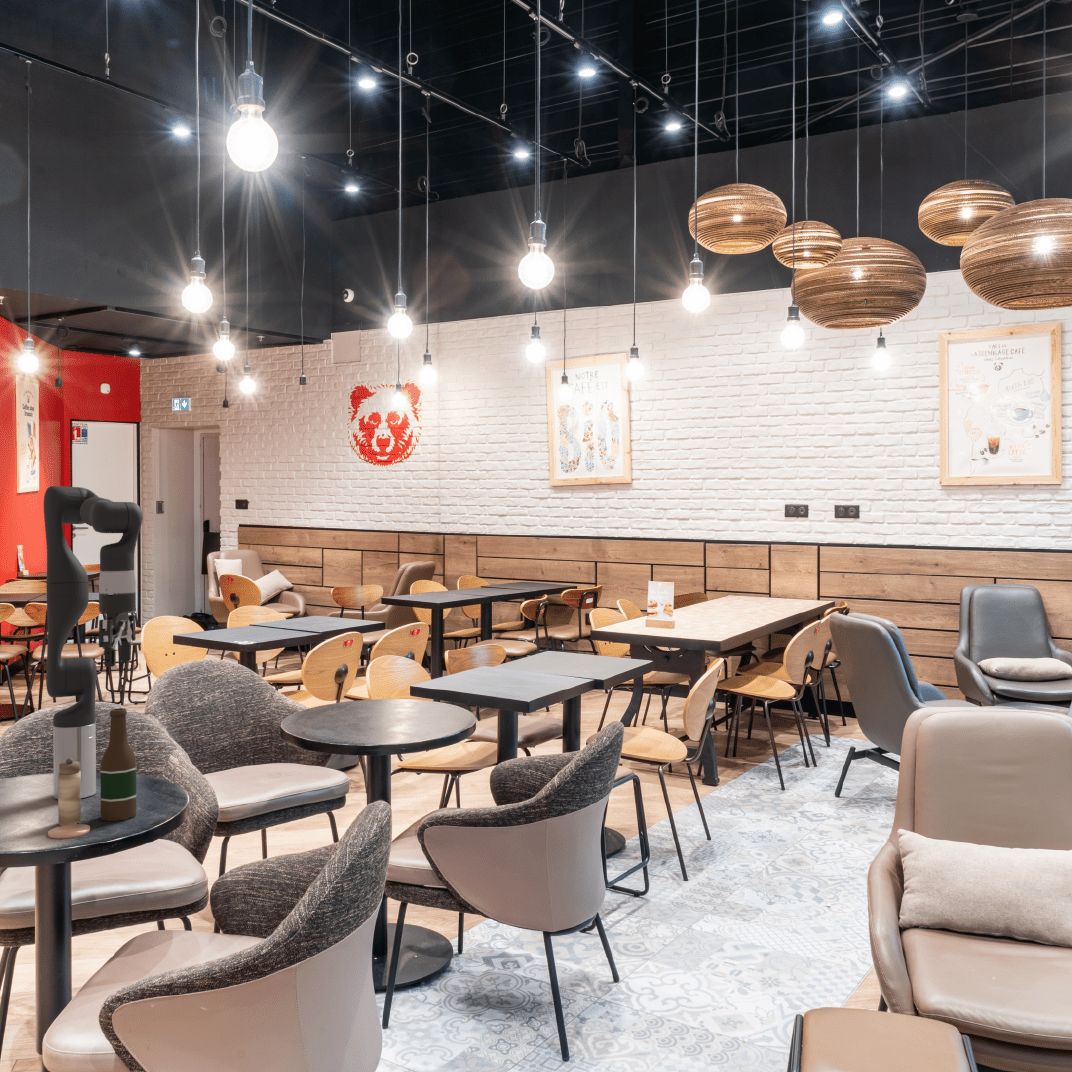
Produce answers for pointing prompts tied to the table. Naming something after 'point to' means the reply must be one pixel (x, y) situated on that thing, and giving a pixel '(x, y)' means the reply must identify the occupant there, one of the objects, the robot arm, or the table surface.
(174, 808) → the table surface
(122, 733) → the beer bottle
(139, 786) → the table surface
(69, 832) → the saucer
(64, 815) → the pepper mill
